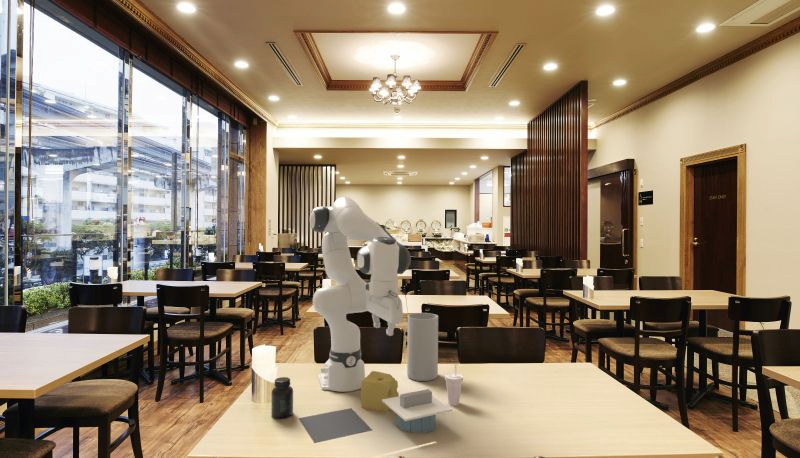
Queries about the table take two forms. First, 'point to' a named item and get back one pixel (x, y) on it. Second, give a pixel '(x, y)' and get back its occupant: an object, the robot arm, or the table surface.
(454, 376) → the smoothie
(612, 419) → the table surface
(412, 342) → the cylinder vase
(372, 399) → the cheese
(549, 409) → the table surface
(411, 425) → the bowl
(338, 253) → the robot arm
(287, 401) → the supplement bottle
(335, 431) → the mat
